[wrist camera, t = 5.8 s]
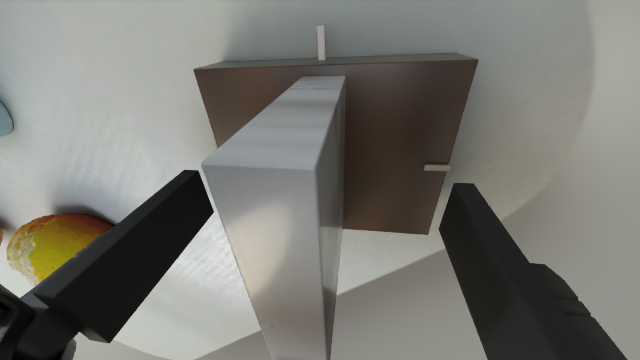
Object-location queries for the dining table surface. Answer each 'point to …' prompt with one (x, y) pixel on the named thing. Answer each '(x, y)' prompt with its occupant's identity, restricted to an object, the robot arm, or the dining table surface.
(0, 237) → the egg
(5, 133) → the cup
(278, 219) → the brushed metal plate
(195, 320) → the dining table surface
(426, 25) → the dining table surface
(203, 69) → the brown rectangular board
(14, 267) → the fruit
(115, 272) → the robot arm
